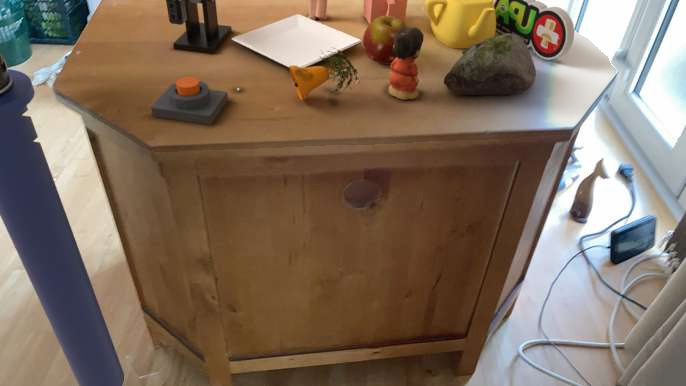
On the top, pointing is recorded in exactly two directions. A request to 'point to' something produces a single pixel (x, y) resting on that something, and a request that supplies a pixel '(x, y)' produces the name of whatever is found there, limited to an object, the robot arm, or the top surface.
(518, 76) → the stone
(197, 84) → the button
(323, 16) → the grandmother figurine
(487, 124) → the top surface
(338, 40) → the plate
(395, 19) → the fruit
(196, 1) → the switch lever
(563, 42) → the sign
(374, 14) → the pink blocky piece
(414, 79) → the figurine
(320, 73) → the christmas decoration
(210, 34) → the switch bracket
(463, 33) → the teapot
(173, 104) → the control block
